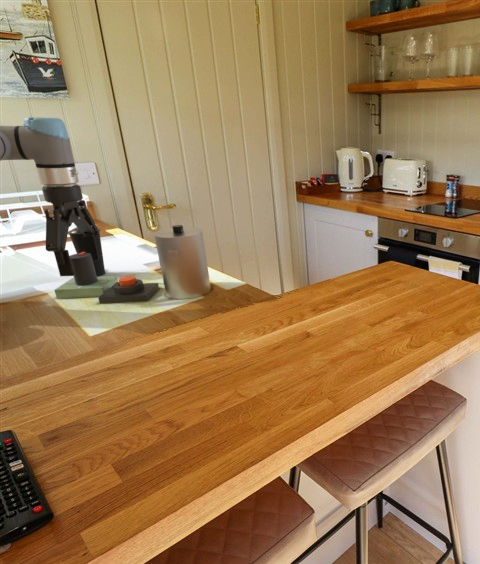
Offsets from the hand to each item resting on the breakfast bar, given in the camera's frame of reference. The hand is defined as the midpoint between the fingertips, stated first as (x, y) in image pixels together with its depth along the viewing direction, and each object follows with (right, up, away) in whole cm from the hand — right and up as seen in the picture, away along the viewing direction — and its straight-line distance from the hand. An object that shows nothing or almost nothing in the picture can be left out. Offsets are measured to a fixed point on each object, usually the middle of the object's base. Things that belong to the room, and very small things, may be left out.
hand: (81, 267), depth 111 cm
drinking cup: (-8, -2, +16) cm, 18 cm away
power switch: (+13, -5, -1) cm, 14 cm away
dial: (0, -4, +2) cm, 4 cm away
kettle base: (+13, -8, 0) cm, 15 cm away
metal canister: (+26, -7, +4) cm, 28 cm away
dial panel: (0, -7, +3) cm, 7 cm away
